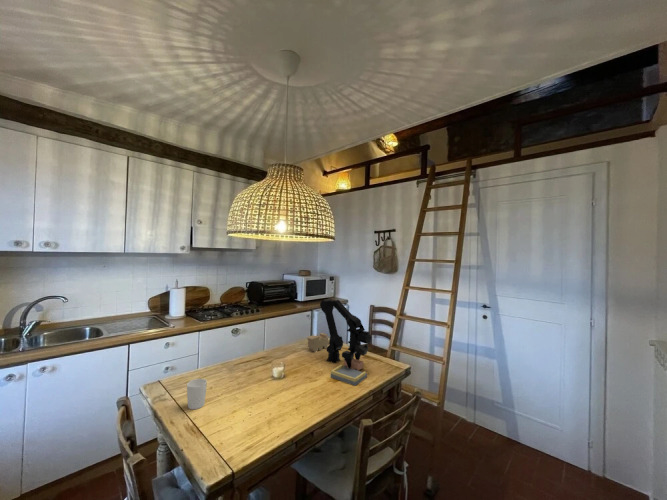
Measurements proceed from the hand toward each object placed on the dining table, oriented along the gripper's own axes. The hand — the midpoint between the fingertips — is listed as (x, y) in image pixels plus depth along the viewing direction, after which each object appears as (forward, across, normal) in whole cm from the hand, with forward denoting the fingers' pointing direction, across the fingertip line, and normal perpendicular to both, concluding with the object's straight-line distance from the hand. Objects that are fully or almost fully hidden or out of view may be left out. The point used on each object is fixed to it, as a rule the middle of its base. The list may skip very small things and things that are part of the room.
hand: (353, 365), depth 168 cm
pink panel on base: (+2, 0, 0) cm, 2 cm away
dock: (+2, -12, -4) cm, 13 cm away
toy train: (+2, +12, +36) cm, 38 cm away
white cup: (+2, -78, +35) cm, 85 cm away
